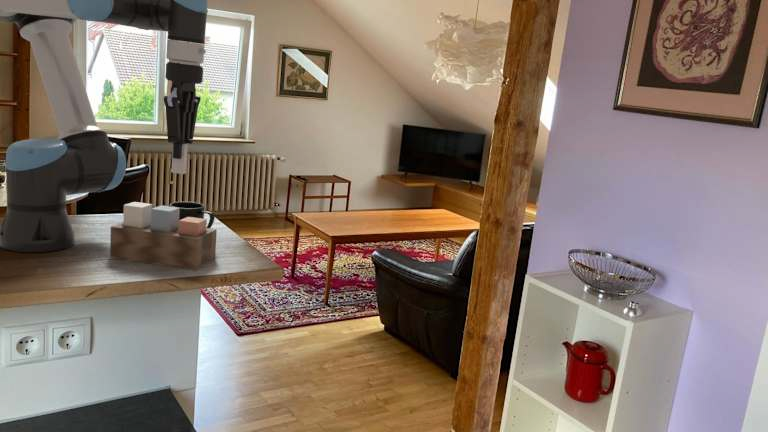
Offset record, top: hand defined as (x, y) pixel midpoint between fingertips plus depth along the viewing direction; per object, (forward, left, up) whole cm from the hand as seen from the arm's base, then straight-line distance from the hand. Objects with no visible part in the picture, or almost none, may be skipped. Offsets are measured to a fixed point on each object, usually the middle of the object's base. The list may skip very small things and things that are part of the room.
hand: (178, 172), depth 139 cm
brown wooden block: (-3, 0, -20) cm, 20 cm away
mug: (-3, +14, -20) cm, 24 cm away
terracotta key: (+4, 0, -17) cm, 17 cm away
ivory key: (-9, 0, -15) cm, 18 cm away
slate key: (-3, 0, -15) cm, 15 cm away
